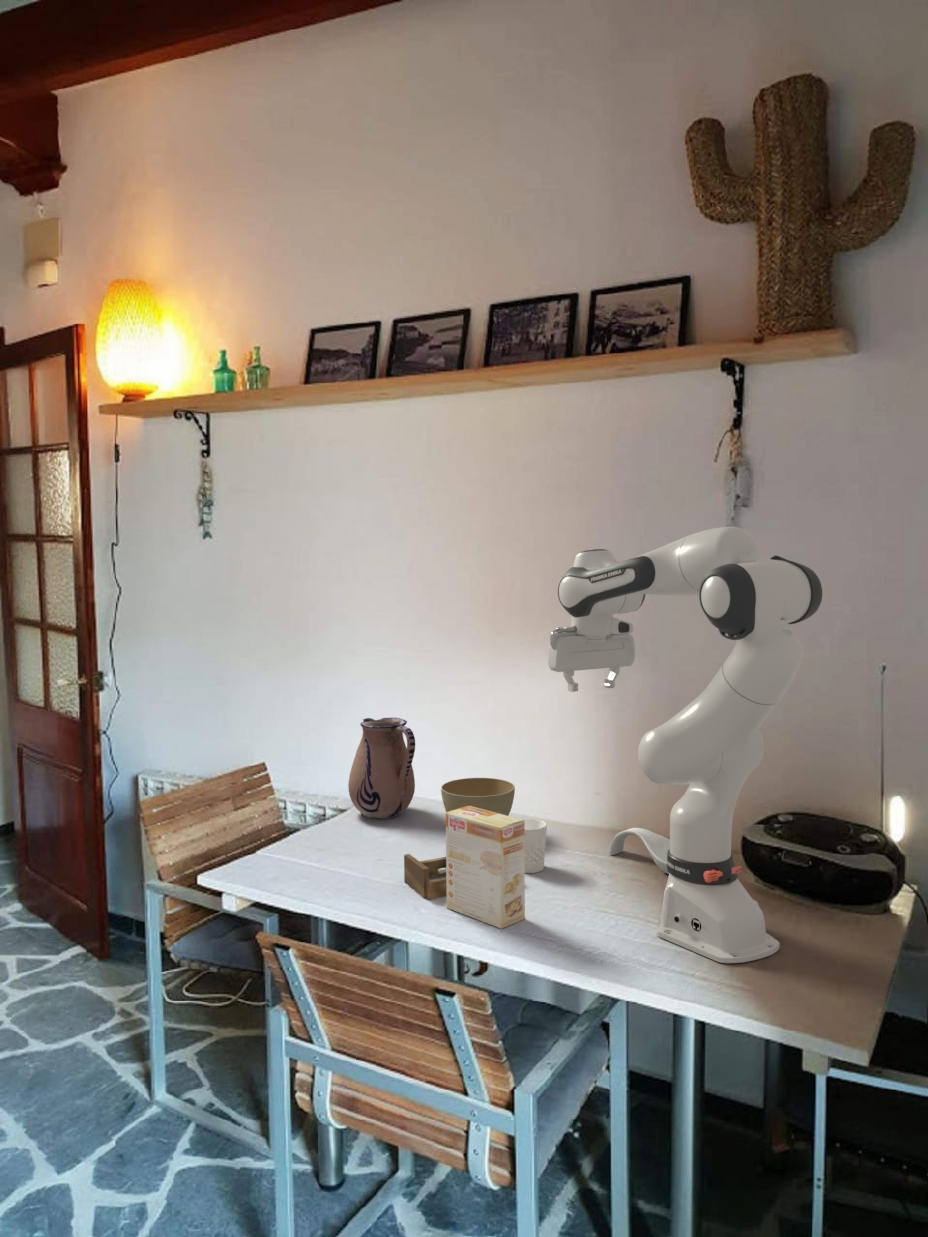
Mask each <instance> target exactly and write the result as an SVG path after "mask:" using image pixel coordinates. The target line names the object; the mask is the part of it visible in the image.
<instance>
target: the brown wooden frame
mask: <svg viewBox="0 0 928 1237" xmlns="http://www.w3.org/2000/svg"><path fill="white" fill-rule="evenodd" d="M403 861H404V863H403V866H404V867H403V872H404V874H403V875H404V877H403V878H404V884H406V885H407V884H408V885H409V886H408V885H407V886H408V887H409V888H411V889H412V890H413V889H414V890H415V891H414V890H413V891H414V892H415V893H417V894H418V896H420V895H421V897H422V898H423V899H427V900H428V901H429V900H434V899H439V898H440V899H441V898H444V897H445V898H447V885H446V877H441V876H444V875H445V876H446V873H441V874H439V873H438V869H441V868H446V856H444V857H443V856H442V857H437V858H432V859H427V860H420V861H419V860H418V859H417V858H415V857H414V856H413V855H412V854H410V853H407V854H403ZM436 877H441V878H436ZM430 878H436V879H430Z"/></svg>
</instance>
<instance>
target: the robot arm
mask: <svg viewBox="0 0 928 1237" xmlns="http://www.w3.org/2000/svg"><path fill="white" fill-rule="evenodd" d="M646 595H657V596H659V595H661V596H676V597H677V596H679V597H681V596H683V597H685V596H686V597H687V596H688V597H689V596H690V597H691V596H698V598H699V603H700V608H701V610H702V611H703V613H704V615H705V617H706V618H707V620H709V622H710V623H711V624H712V625H713V626H714V628H716V629H718V631H719V634H720V636H722V637H723V638H726V639H727V640H731V641H735V645H734V648H733V649H732V651H731V652H730V654H729V655H728V657H727V658H726V659H725V661H724V662H723V663H722V665H721V667H720V668H719V669H718V671H717V672H716V674H715V675H714V676H713V678H712V679H711V681H710V682H709V683H708V685H707V686H706V687H705V688H704V690H703V691H702V692H701V693H700V694H699V695H698V696H697V697H696V698H695V699H693V700H692V701H691V702H689V704H687V705H686V706H685V707H684V708H682V709H681V710H680V711H678V712H677V713H676V714H675V715H673V716H672V717H671V718H670V719H669V720H667V721H665V722H664V723H662V724H660V725H659V726H657V727H656V728H653V729H652V730H648V731H647V732H646V733H645V734H643V736H642V738H641V739H640V742H639V745H638V750H637V759H638V763H639V767H640V768H641V771H642V773H643V774H644V775H645V777H646V778H647V779H648V780H649V781H650V782H653V783H655V784H661V785H671V786H672V785H673V786H682V785H688V784H689V785H688V787H687V789H686V791H685V793H684V794H683V795H682V797H680V798H679V800H677V801H676V802H675V803H674V804H673V806H672V808H671V811H670V815H669V839H670V849H669V850H668V852H667V860H666V861H667V871H668V872H669V875H668V878H667V882H666V885H665V888H664V893H663V901H662V910H661V918H660V920H659V926H658V928H657V929H656V936H658V937H659V938H660V939H663V940H666V941H668V942H670V943H674V944H675V945H678V946H680V947H683V948H684V949H687V950H690V951H692V952H694V953H695V954H696V953H697V954H699V955H701V956H703V957H705V958H708V959H711V960H713V961H715V962H718V963H721V964H739V963H746V962H747V963H748V962H751V961H752V962H753V961H757V960H760V959H763V958H767V957H770V956H772V955H774V954H776V953H777V952H778V951H779V950H780V942H779V940H777V939H776V938H774V937H773V936H771V935H770V934H769V933H767V931H766V930H767V929H766V920H765V915H764V912H763V911H762V909H761V908H760V906H759V902H758V901H757V900H755V899H753V898H752V897H751V895H750V894H749V892H748V891H747V890H746V888H745V887H744V886H743V884H742V883H741V882H740V880H739V874H738V873H742V872H743V871H742V870H740V869H742V867H743V866H742V865H739V866H736V862H735V860H734V855H733V854H732V831H733V817H734V814H735V812H734V811H735V808H736V804H737V802H738V799H739V795H740V793H741V790H742V788H743V786H744V785H745V782H746V781H747V779H748V777H749V776H750V774H751V773H752V772H753V771H754V770H755V769H756V768H757V767H758V766H759V765H760V764H761V761H763V757H764V753H765V746H764V745H765V744H764V738H763V735H762V733H761V732H760V730H759V728H760V727H761V725H762V724H763V723H764V721H765V720H766V719H767V717H768V716H769V715H770V714H771V712H772V711H773V709H775V707H776V706H777V705H778V703H779V702H780V701H781V699H782V698H783V696H784V695H785V694H786V692H787V691H788V689H789V688H790V686H791V684H792V683H793V681H794V679H795V678H796V675H797V673H798V671H799V669H800V666H801V664H802V663H803V659H804V648H803V645H802V643H801V641H800V639H799V638H798V637H797V635H796V634H795V633H793V632H792V631H791V630H790V628H789V625H794V624H798V623H801V622H803V621H806V620H807V619H809V618H811V617H812V616H813V615H815V613H817V611H818V610H819V608H820V606H821V604H822V601H823V600H822V599H823V586H822V583H821V580H820V578H819V576H818V575H817V573H816V572H815V571H814V570H812V568H810V567H808V566H806V565H804V564H801V563H799V562H797V561H796V562H795V561H793V560H789V559H786V558H785V557H782V556H780V555H773V556H772V557H770V558H767V557H764V556H762V555H761V554H760V552H759V549H758V545H757V542H756V541H755V538H753V536H752V535H751V534H750V533H749V532H748V531H747V530H745V529H744V528H741V527H738V526H721V527H713V528H708V529H705V530H701V531H698V532H695V533H691V534H689V535H687V536H684V537H682V538H678V539H677V540H674V541H672V542H669V543H667V544H664V545H662V546H660V547H658V548H656V549H652V550H651V551H647V552H645V553H642V554H640V555H638V556H635V557H633V558H630V559H627V560H623V561H619V560H617V559H616V558H615V557H614V555H613V552H611V550H609V549H604V548H595V549H588V550H583V551H580V552H579V553H577V554H576V555H575V557H574V561H573V567H571V568H569V569H568V570H567V571H566V572H565V574H564V575H563V576H562V578H561V579H560V581H559V584H558V587H557V597H558V601H559V603H560V604H561V606H562V607H563V609H564V610H565V611H566V612H567V613H568V614H569V615H570V616H571V625H570V626H566V627H556V628H555V629H554V630H553V631H552V632H551V634H550V636H549V650H548V660H547V664H548V668H549V669H550V670H551V671H553V672H555V673H562V672H563V673H562V676H563V678H564V679H565V681H566V683H567V690H568V692H570V693H572V692H573V693H575V692H579V683H577V682H575V681H574V679H573V677H574V676H575V672H576V671H577V672H578V671H586V670H596V669H597V670H599V669H608V672H610V673H609V674H608V676H607V678H604V688H607V689H614V688H615V686H616V680H617V677H618V675H620V670H621V667H623V668H624V667H631V666H632V665H633V664H634V662H635V658H636V657H635V653H636V652H635V651H636V650H635V649H636V647H635V639H634V637H633V635H632V633H633V630H634V625H633V623H631V622H628V621H625V620H622V619H619V618H617V617H614V615H616V614H617V615H618V614H620V615H621V614H629V613H633V612H636V611H638V610H639V609H640V608H641V606H642V605H643V603H644V601H645V598H646Z"/></svg>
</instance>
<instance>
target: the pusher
mask: <svg viewBox="0 0 928 1237" xmlns="http://www.w3.org/2000/svg"><path fill="white" fill-rule="evenodd" d="M438 873H439V874H441V873H446V868H441V869H438Z"/></svg>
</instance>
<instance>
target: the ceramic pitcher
mask: <svg viewBox="0 0 928 1237" xmlns="http://www.w3.org/2000/svg"><path fill="white" fill-rule="evenodd" d="M407 723H408V721H407V720H406V719H403V718H400V717H383V718H381V719H377V720H376V719H374V718H371V717H368V718H363V719H362V722H360V724H359V725H360V727H361V728H362V735H361V736H362V737H361V739H360V742H359V744H358V746H357V749H356V753H355V756H354V758H353V761H352V765H351V768H350V772H349V778H348V786H347V787H348V795H349V799H350V800H351V802H352V805H353V806H354V807H355V809H356V810H357V811H358V812H359V813H361V814H362V815H363V816H365V817H367V818H369V819H375V818H376V819H377V818H379V819H385V820H386V819H391V818H394V817H398V816H399V815H401V814H402V813H404V812H405V811H406V810H407V809H408V808H409V806H410V804H411V803H412V801H413V798H414V794H415V792H416V791H415V789H416V784H415V783H416V782H415V773H414V769H413V768H414V767H413V765H412V763H413V759H414V757H415V751H416V736H415V734H414V731H412V729H411V728H410V727H409V726H408V727H407V726H406V725H407ZM404 735H405V737H406V743H405V740H404ZM406 744H407V745H406Z"/></svg>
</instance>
